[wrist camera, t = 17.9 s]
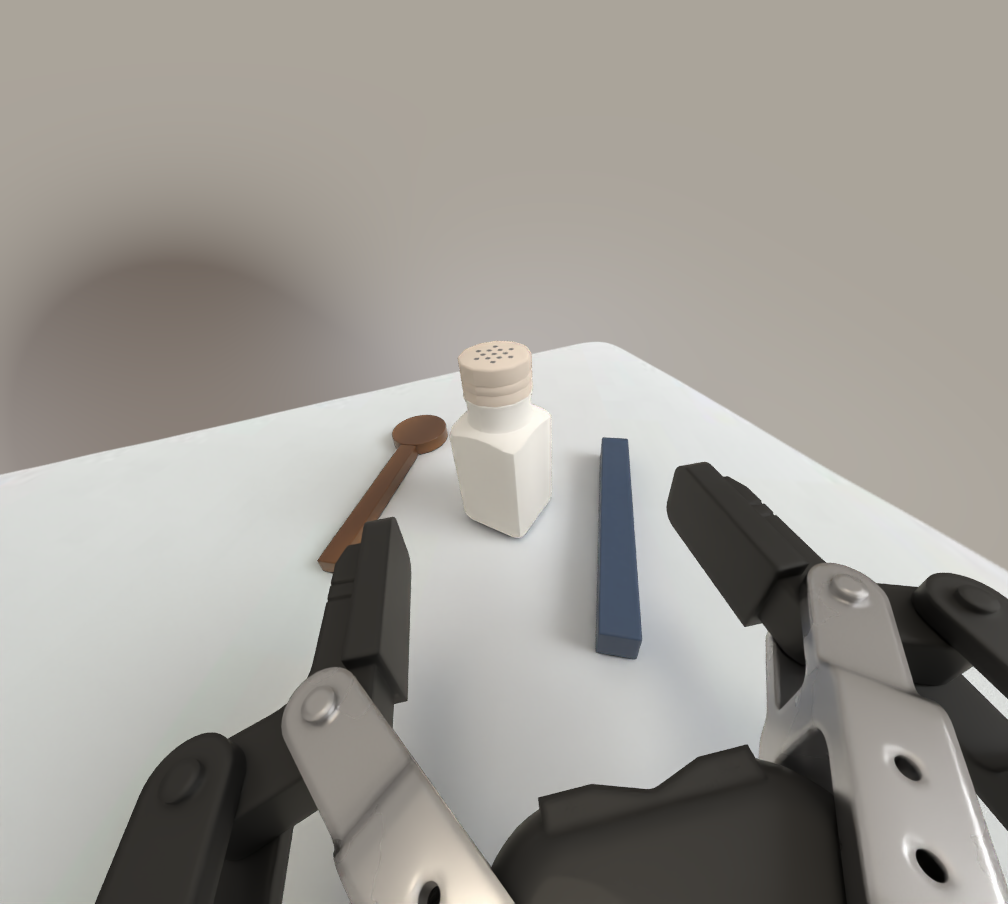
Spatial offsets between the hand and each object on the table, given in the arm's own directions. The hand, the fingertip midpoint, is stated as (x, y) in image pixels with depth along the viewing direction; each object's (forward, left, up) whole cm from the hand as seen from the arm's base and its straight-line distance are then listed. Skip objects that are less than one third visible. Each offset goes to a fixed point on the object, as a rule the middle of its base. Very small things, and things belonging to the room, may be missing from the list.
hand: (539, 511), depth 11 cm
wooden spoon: (-11, +9, -8) cm, 16 cm away
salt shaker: (-3, +8, -8) cm, 12 cm away
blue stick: (+3, +7, -8) cm, 11 cm away
